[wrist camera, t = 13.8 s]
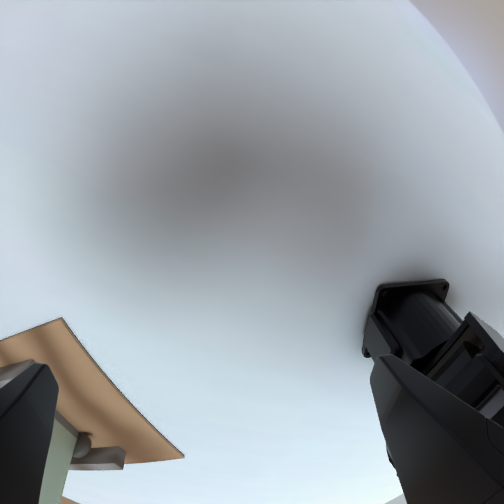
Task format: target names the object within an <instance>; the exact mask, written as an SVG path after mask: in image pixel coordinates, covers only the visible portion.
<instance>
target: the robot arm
mask: <svg viewBox="0 0 504 504" xmlns="http://www.w3.org/2000/svg"><path fill="white" fill-rule="evenodd" d="M448 289H449V283H448V282H447V281H446V280H445V279H441V280H431V281H421V282H410V283H399V284H387V285H381V286H380V287H379V288H378V289H377V291H376V295H375V300H374V304H373V309H372V313H371V314H370V316H369V319H368V324H367V328H366V332H365V336H364V340H363V342H364V345H363V349H362V353H363V355H364V357H366V358H369V357H372V359H373V361H374V363H375V364H374V367H373V370H372V373H371V376H370V385H371V389H372V393H373V397H374V401H375V405H376V409H377V413H378V417H379V421H380V425H381V429H382V432H383V435H384V438H385V441H386V448H387V454H388V457H389V461H390V463H391V464H392V465H393V467H394V468H395V469H396V472H397V476H398V477H399V480H400V483H401V486H402V489H403V492H404V495H405V498H406V502H407V504H504V338H503V337H502V336H501V335H500V334H499V333H498V332H497V331H496V330H494V329H493V328H492V327H490V326H489V325H488V324H486V323H485V322H484V321H482V320H481V319H480V318H478V317H477V316H476V315H474V314H473V313H471V312H470V311H469V312H468V314H467V315H466V316H465V318H464V319H465V320H464V321H462V319H461V318H460V317H459V316H458V315H457V314H456V313H455V312H454V311H453V310H452V309H451V308H450V306H449V305H448V304H447V303H446V302H445V298H446V295H447V292H448ZM384 291H385V293H383V294H382V292H384ZM368 351H369V352H368ZM58 394H59V386H58V382H57V381H56V379H55V377H54V375H53V373H52V371H51V369H50V367H49V365H47V364H46V363H38V362H36V363H33V364H32V365H31V366H29V367H28V368H27V369H25V370H24V371H23V372H21V373H20V374H19V375H17V376H16V377H15V378H13V379H12V380H11V381H9V382H8V383H7V384H5V385H4V386H3V387H2V388H0V504H39V499H40V492H41V486H42V481H43V475H44V470H45V465H46V460H47V456H48V451H49V447H50V442H51V438H52V432H53V426H54V419H55V412H56V406H57V400H58Z"/></svg>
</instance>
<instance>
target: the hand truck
mask: <svg viewBox="0 0 504 504" xmlns="http://www.w3.org/2000/svg"><path fill="white" fill-rule="evenodd" d="M91 445H92V442H91V439H90V438H89V437H88V436H87V435H86V434H85V433H83V432H79V431H78V430H77V429H76V428H75V427H74V426H73V425H72V424H70V423H69V422H68V421H67V420H66V419H65V418H64V417H63V416H62V415H61V414H60V413H59V412H58V411H57V410H56V412H55V419H54V426H53V432H52V438H51V442H50V447H49V451H48V456H47V460H46V465H45V470H44V475H43V481H42V486H41V492H40V499H39V504H60V501H61V497H62V493H63V489H64V485H65V481H66V477H67V473H68V469H69V466H70V462H71V458H72V455H73V456H74V457H76V458H81V457H83V456H85V455H86V454H87V453H88V452H89V450H90V448H91Z"/></svg>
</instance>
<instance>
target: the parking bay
mask: <svg viewBox="0 0 504 504" xmlns="http://www.w3.org/2000/svg"><path fill="white" fill-rule="evenodd" d="M36 362H38V363H46V364H47V365H49V367H50V369H51V371H52V373H53V375H54V377H55V379H56V381H57V382H58V386H59V394H58V400H57V406H56V410H57V411H58V412H59V413H60V414H61V415H62V416H63V417H64V418H65V419H66V420H67V421H68V422H69V423H70V424H72V425H73V426H74V427H75V428H76V429H77V430H78V431H79V432H83V433H85V434H86V435H87V436H88V437H89V438H90V439H91V442H92V445H91V448H90V450H89V452H88V453H87V454H86V455H85V456H83V457H81V458H76V457H74V456H73V455H72V458H71V462H70V466H69V469H68V470H123V467H124V464H133V463H146V462H156V461H165V460H173V459H181V458H184V455H183V454H182V453H181V452H180V451H179V450H177V449H176V448H175V447H174V446H173V445H172V444H171V443H170V442H169V441H168V440H167V439H166V438H165V437H163V436H162V435H161V434H160V433H159V432H158V431H157V430H156V429H155V428H154V427H153V426H152V425H151V424H150V423H149V422H148V421H147V420H146V419H145V418H144V417H143V416H142V415H141V414H140V413H139V412H138V411H137V409H136V408H135V407H134V406H133V405H132V404H131V403H130V402H129V401H128V400H127V399H126V398H125V397H124V395H123V394H122V393H121V392H120V391H119V390H118V389H117V388H116V386H115V385H114V384H113V383H112V382H111V381H110V380H109V378H108V377H107V376H106V375H105V374H104V372H103V371H102V370H101V369H100V368H99V366H98V365H97V364H96V363H95V361H94V360H93V359H92V358H91V356H90V355H89V354H88V353H87V351H86V350H85V349H84V347H83V346H82V345H81V344H80V342H79V341H78V340H77V338H76V337H75V336H74V334H73V333H72V331H71V330H70V329H69V327H68V326H67V325H66V323H65V322H64V320H63V319H62V318H59V319H56V320H54V321H51V322H48V323H46V324H43V325H40V326H38V327H35V328H32V329H30V330H27V331H24V332H22V333H19V334H16V335H14V336H11V337H8V338H6V339H3V340H1V341H0V388H2V387H3V386H4V385H5V384H7V383H8V382H9V381H11V380H12V379H13V378H15V377H16V376H17V375H19V374H20V373H21V372H23V371H24V370H25V369H27V368H28V367H29V366H31V365H32V364H33V363H36Z"/></svg>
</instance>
